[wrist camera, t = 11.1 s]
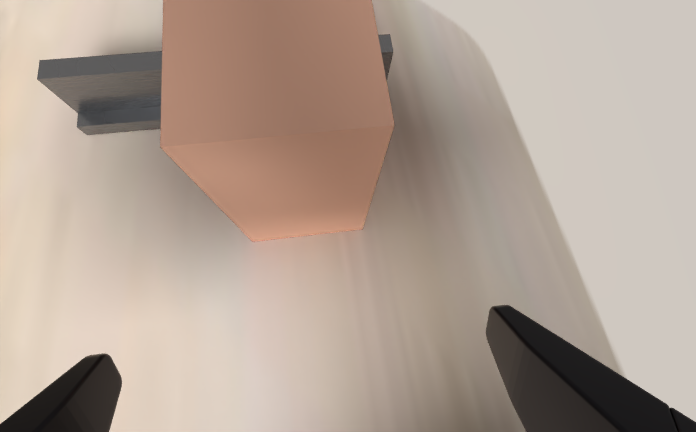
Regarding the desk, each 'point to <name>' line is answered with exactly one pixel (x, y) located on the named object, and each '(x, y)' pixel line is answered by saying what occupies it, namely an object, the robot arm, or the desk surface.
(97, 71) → the rail
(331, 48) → the carton
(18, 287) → the desk surface
